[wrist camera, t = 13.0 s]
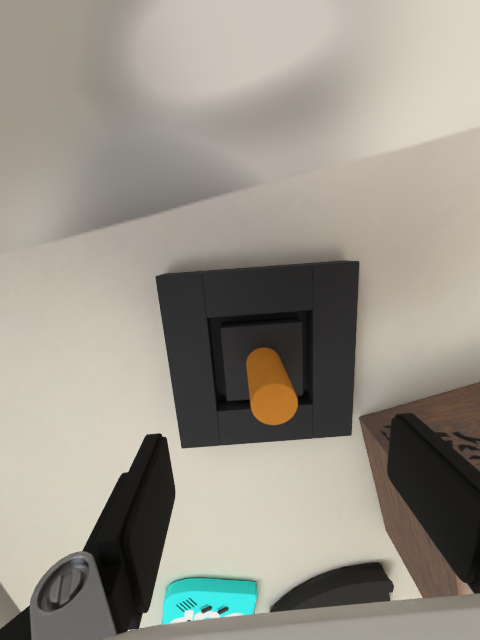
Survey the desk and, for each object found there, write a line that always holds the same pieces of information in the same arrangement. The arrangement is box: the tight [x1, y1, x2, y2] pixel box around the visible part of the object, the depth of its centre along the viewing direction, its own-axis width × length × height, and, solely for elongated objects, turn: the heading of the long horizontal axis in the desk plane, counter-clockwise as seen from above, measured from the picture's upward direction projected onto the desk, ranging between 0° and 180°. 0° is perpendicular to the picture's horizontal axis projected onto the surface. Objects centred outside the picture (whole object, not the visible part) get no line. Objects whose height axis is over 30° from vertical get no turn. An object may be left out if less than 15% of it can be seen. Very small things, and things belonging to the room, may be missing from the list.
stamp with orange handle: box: [220, 318, 303, 425], centre depth 17 cm, size 6×6×7 cm
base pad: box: [156, 261, 359, 448], centre depth 20 cm, size 14×14×2 cm
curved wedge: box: [270, 563, 394, 612], centre depth 28 cm, size 8×14×2 cm, turn 101°
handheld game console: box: [162, 578, 257, 625], centre depth 29 cm, size 10×16×1 cm, turn 173°
